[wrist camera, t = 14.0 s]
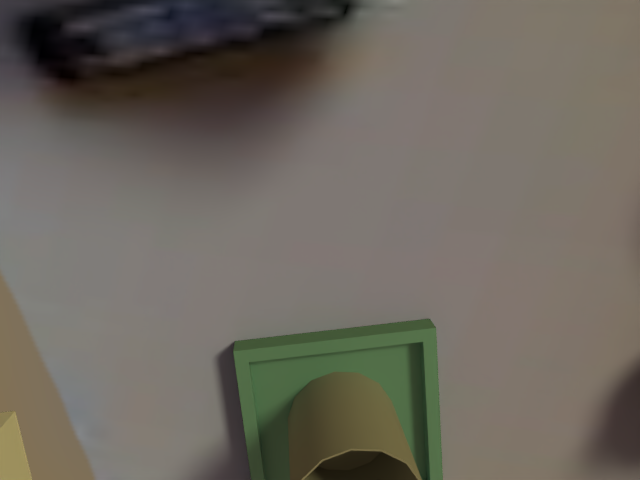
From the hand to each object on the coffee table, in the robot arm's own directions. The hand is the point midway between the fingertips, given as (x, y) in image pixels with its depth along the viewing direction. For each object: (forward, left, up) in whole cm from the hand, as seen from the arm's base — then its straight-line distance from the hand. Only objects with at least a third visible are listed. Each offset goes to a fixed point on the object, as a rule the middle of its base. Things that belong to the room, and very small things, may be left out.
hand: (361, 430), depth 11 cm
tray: (+19, +2, -31) cm, 36 cm away
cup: (+18, +2, -30) cm, 35 cm away
